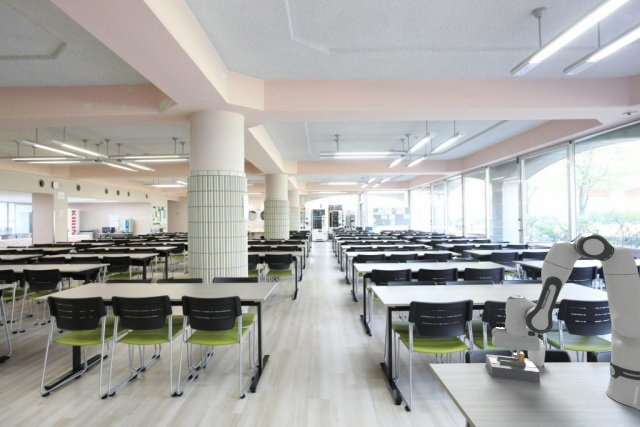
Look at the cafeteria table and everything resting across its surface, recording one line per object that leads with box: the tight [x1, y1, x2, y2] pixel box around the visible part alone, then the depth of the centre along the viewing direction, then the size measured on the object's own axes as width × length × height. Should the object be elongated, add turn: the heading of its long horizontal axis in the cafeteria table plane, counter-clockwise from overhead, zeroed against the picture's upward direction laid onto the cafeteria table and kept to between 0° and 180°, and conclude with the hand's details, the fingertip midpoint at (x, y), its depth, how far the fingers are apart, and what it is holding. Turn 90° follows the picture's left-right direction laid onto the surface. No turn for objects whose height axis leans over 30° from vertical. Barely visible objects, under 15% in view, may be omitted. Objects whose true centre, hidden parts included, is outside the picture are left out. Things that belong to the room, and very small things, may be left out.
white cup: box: [527, 342, 546, 367], centre depth 172 cm, size 8×8×10 cm
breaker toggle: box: [518, 351, 525, 362], centre depth 161 cm, size 2×3×5 cm, turn 164°
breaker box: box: [485, 353, 541, 384], centre depth 162 cm, size 20×14×7 cm
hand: (515, 357), depth 162 cm, fingers closed
